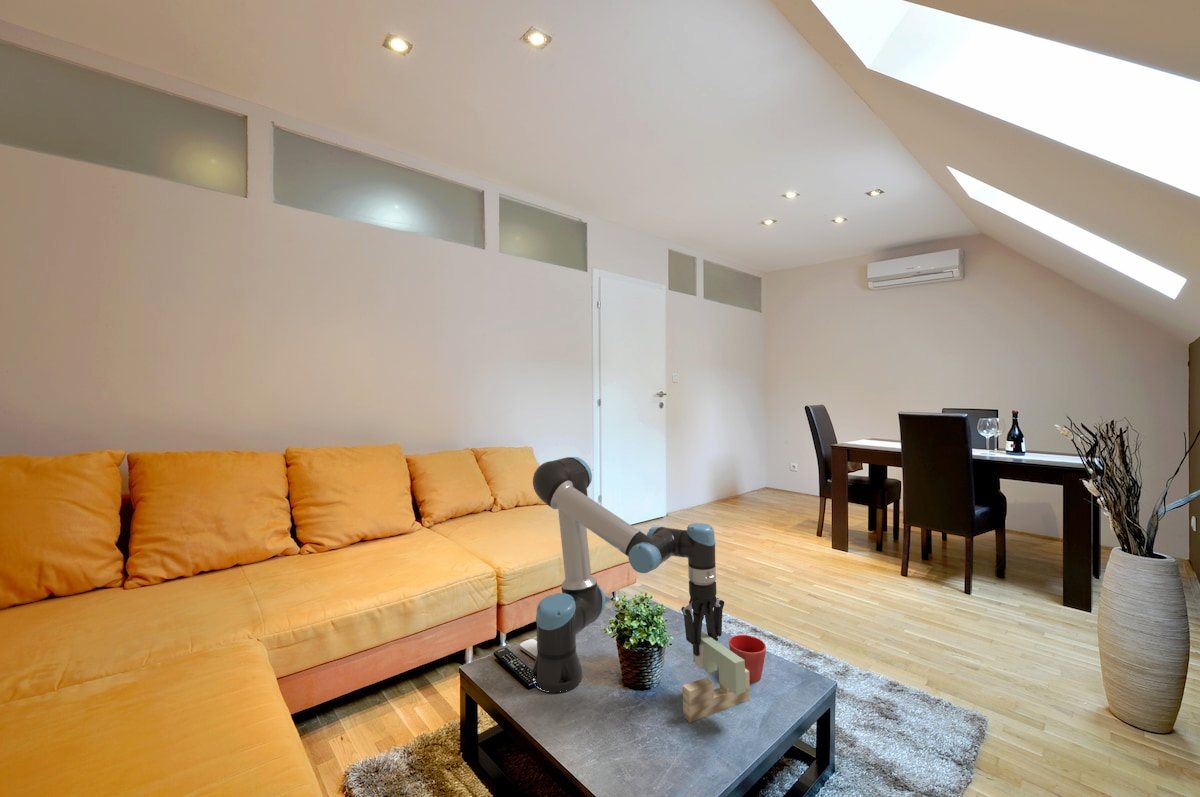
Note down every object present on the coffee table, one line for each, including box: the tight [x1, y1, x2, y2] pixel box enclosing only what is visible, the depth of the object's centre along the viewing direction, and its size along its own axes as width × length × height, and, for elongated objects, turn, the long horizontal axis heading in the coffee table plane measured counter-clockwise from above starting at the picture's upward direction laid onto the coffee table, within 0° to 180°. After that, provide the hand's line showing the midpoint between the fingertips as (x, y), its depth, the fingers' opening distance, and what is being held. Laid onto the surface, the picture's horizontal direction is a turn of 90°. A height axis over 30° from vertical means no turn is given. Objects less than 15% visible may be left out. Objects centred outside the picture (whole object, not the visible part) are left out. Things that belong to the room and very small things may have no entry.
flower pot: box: [728, 634, 767, 683], centre depth 145 cm, size 11×11×10 cm
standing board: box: [682, 668, 751, 723], centre depth 130 cm, size 20×3×8 cm, turn 115°
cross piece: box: [692, 630, 746, 695], centre depth 130 cm, size 18×3×8 cm, turn 25°
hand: (704, 664), depth 135 cm, fingers closed on cross piece, 3 cm apart
